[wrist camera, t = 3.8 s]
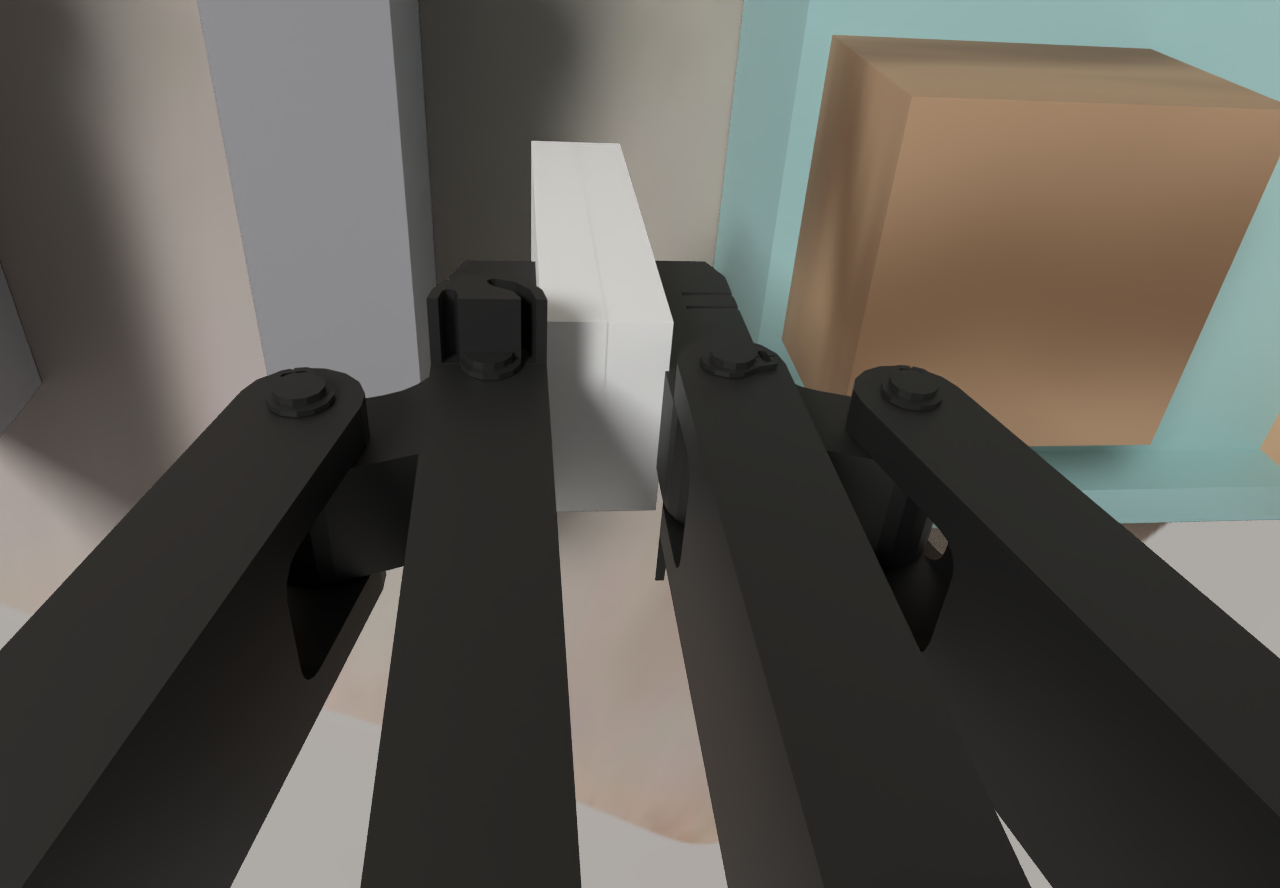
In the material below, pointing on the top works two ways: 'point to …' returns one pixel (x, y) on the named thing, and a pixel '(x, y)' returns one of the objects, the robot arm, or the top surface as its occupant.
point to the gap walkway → (749, 214)
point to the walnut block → (1023, 225)
